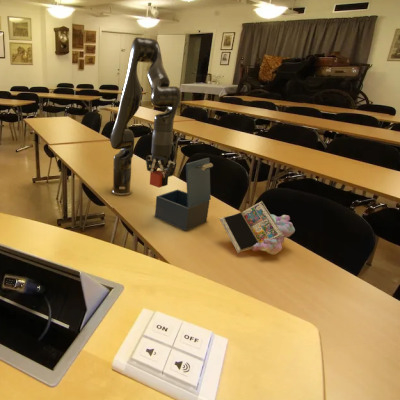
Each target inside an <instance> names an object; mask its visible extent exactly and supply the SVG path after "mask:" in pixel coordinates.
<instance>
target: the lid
mask: <svg viewBox="0 0 400 400" xmlns="http://www.w3.org/2000/svg"><path fill="white" fill-rule="evenodd" d="M213 167H214V164H213V163H212V162H210V157H205V158H201V159H197V160H195V161H191V162H188V163H185V179H186V180H185V181H186V193H187V203H188V208H191V207H193V206H196V205H198V204H201V203H204V202H206V201H211V169H212V168H213Z"/></svg>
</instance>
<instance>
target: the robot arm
mask: <svg viewBox="0 0 400 400" xmlns="http://www.w3.org/2000/svg"><path fill="white" fill-rule="evenodd" d="M139 63H146V64H147V63H148V64H149V63H150V66H149V67H148V70H147V74H146V78H147V81H148V84H149V86H150V92H151V93H150V103H151V105H152V106H154V107H156V108H166V109H165V111H163V112H160V113H157V114H155V115H154V119H153V129H152V130H153V131H152V136H151V150H150V151H151V152H150V153H151V154H150V155H146V156H145V165H146V171H148V172H149V174H150V173H151V172H154V171H158V170H160V171H161V172H162V176H163V177H162V186H163V187H166V186H168V185H167V184H168V183H169V178H170V177H173V176H174V173H175V170H176V166H177V162H176V161H172V160H171V155H172V149H173V139H174V121H175V117H176V115H177V111H178V108H179V105H180V103H181V100H182V91H181V89H180V88H179V87H178V86H174V85H173V86H170V84H171V81H170V78H169V76H168V74H167V72H166V69H165V66H164V63H163V56H162V52H161V47H160V44H159V41H158V40H157V39H155V38H150V37H142V36H141V37H140V36H137V37H134V38H133V40H132V42H131V45H130V49H129V57H128V63H127V69H126V75H125V79H124V84H123V88H122V91H121V96H120V101H119V105H118V106H119V107H118V111H117V115H116V119H115V122H114V125H113V128H112V130H111V133H110V140H109V141H110V146H111V148H112V149H113V150H119V152H117V153H115V155H113V161H112V162H113V163H112V164H113V166H112V167H113V169H112V170H113V173H112V194H113V195H117V196H128V195H130V194H131V183H132V161H133V157H134V151H135V150H134V149H135V134H134V132H133V131H132V130H131V129H126V128H127V126H128V125H129V123H130V121H131V120H132V119H133V117H134V116H135V115H136V114H137V112H138V110H139V109H140V106H141V103H142V98H143V88H142V86H141V83H140V79H139V76H138V64H139ZM165 173H166V174H165Z"/></svg>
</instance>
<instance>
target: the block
mask: <svg viewBox="0 0 400 400" xmlns="http://www.w3.org/2000/svg"><path fill="white" fill-rule="evenodd" d="M165 174H166V173H165ZM162 177H163V176H162V172H161V170H160V169H157V171H154V172H151V173H150V172H149V185H151V186H153V187H157V188H163V187H164V186H162ZM166 186H168V184H167V185H166Z"/></svg>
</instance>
